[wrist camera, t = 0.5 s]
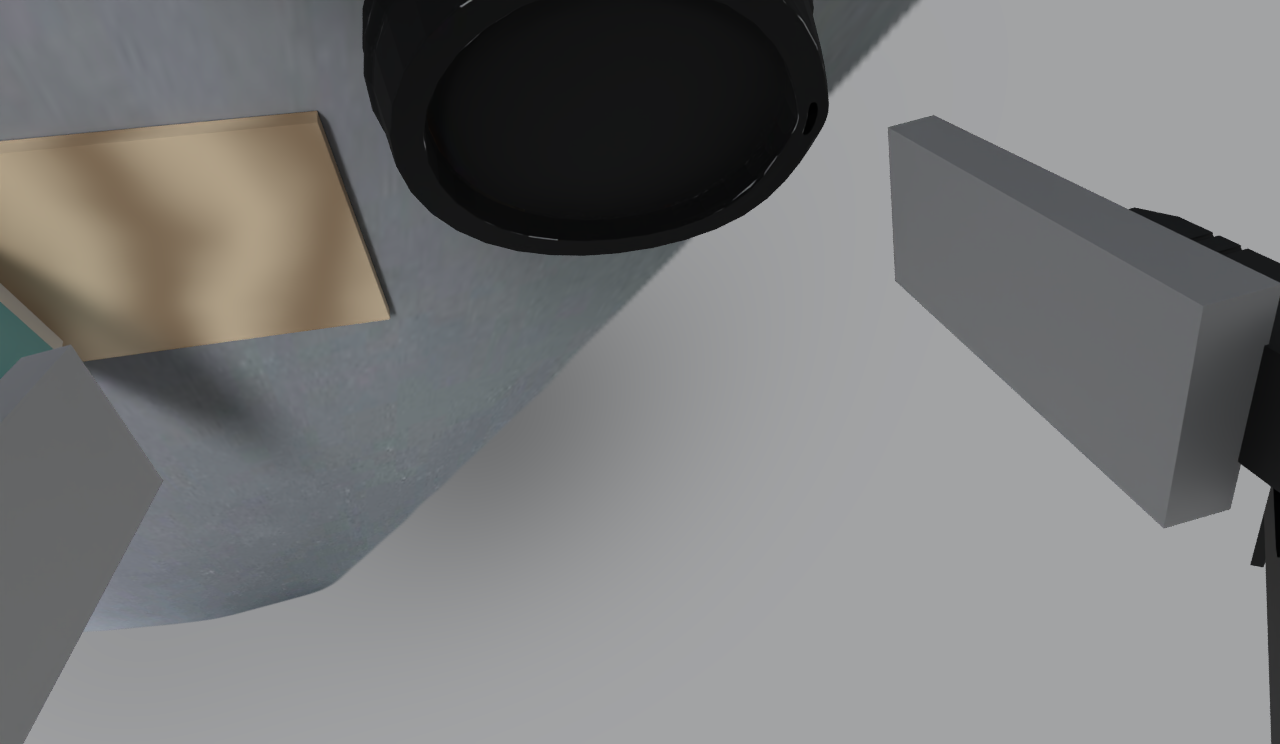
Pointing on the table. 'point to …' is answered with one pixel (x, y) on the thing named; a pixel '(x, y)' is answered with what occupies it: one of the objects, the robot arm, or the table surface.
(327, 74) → the table surface
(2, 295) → the tile
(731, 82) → the coffee cup
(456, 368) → the table surface
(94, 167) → the mat
